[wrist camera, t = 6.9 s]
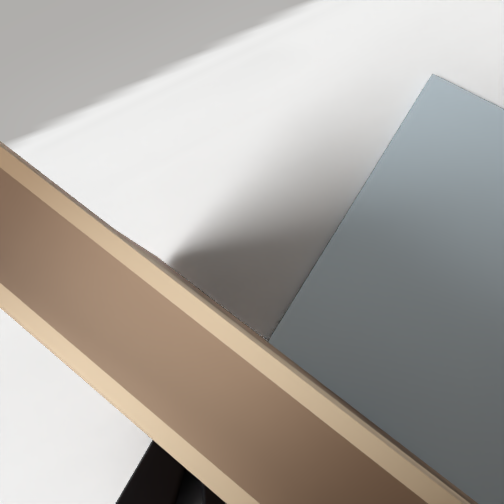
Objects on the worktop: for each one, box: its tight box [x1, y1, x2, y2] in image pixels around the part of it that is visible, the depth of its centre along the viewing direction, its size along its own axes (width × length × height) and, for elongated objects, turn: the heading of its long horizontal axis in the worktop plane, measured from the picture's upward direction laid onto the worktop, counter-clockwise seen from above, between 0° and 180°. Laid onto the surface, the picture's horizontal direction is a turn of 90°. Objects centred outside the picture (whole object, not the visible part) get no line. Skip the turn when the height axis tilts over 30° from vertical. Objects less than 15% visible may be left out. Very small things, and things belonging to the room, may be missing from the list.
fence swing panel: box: [0, 142, 478, 504], centre depth 9 cm, size 19×1×11 cm, turn 53°
